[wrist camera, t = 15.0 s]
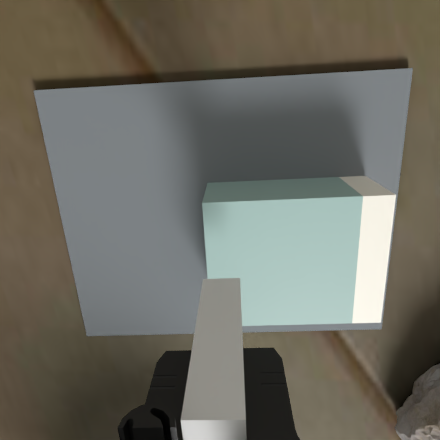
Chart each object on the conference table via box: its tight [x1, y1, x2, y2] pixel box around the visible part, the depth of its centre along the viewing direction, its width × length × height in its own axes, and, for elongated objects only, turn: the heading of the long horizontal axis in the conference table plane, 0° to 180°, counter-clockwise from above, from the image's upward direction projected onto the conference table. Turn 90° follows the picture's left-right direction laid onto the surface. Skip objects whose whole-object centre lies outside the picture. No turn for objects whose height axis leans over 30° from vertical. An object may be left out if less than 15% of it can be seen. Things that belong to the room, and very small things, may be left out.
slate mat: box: [34, 68, 413, 336], centre depth 22 cm, size 20×16×1 cm
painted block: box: [202, 176, 396, 326], centre depth 20 cm, size 4×7×9 cm
